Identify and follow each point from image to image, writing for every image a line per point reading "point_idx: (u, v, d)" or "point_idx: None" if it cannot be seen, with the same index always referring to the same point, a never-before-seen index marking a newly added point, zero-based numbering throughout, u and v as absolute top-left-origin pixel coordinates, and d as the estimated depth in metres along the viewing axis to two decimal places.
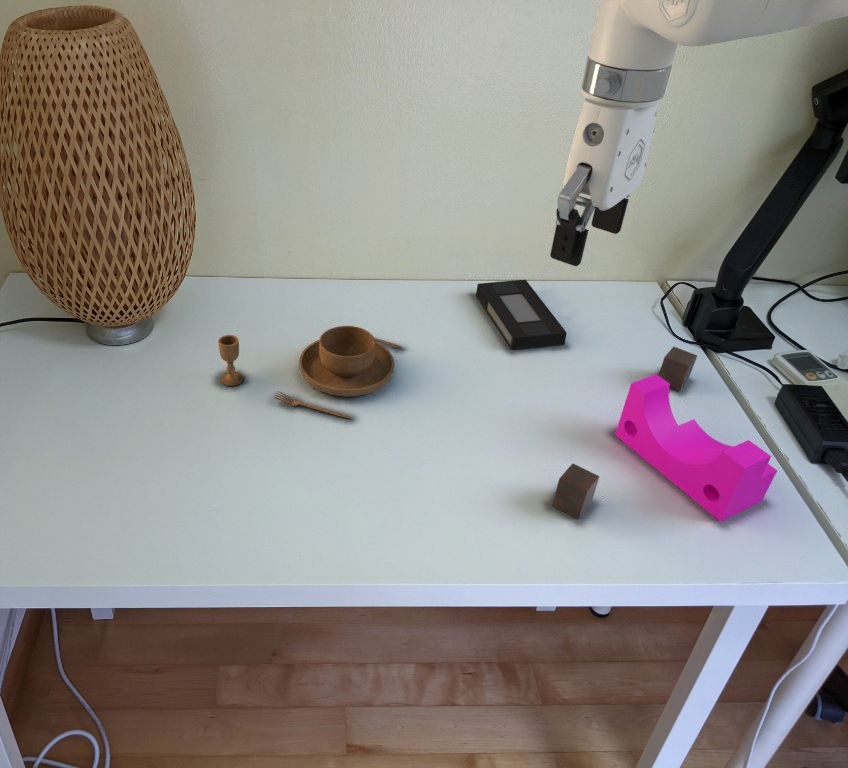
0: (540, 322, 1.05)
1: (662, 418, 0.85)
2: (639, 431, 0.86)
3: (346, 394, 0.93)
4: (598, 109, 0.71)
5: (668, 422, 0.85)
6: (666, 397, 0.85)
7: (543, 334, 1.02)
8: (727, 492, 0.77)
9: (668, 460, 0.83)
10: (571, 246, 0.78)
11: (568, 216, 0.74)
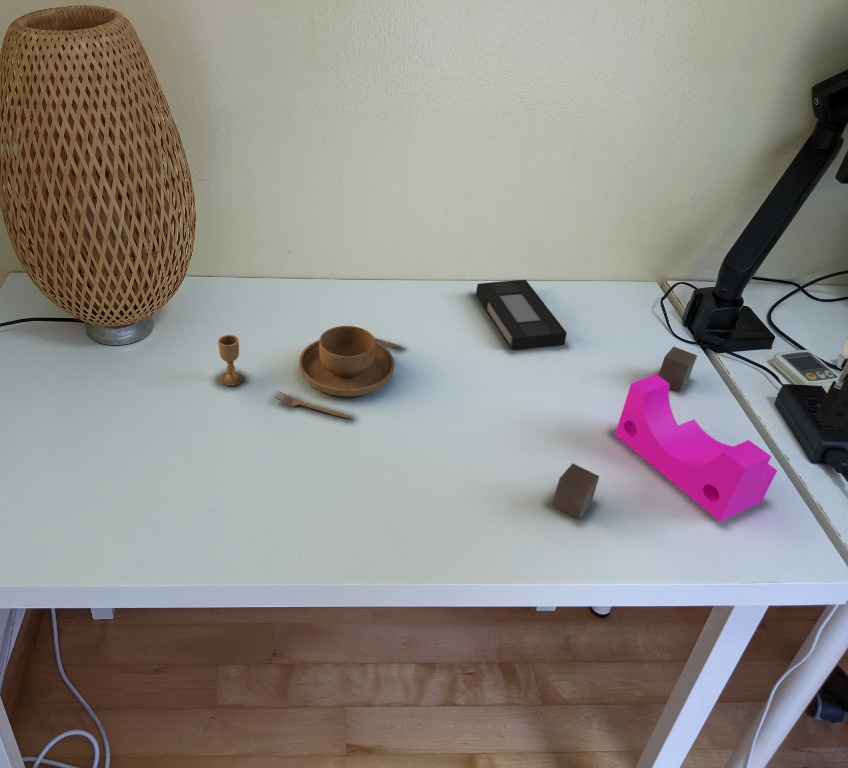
0: (540, 322, 1.05)
1: (662, 418, 0.85)
2: (639, 431, 0.86)
3: (346, 394, 0.93)
4: None
5: (668, 422, 0.85)
6: (666, 397, 0.85)
7: (543, 334, 1.02)
8: (727, 492, 0.77)
9: (668, 460, 0.83)
10: None
11: None
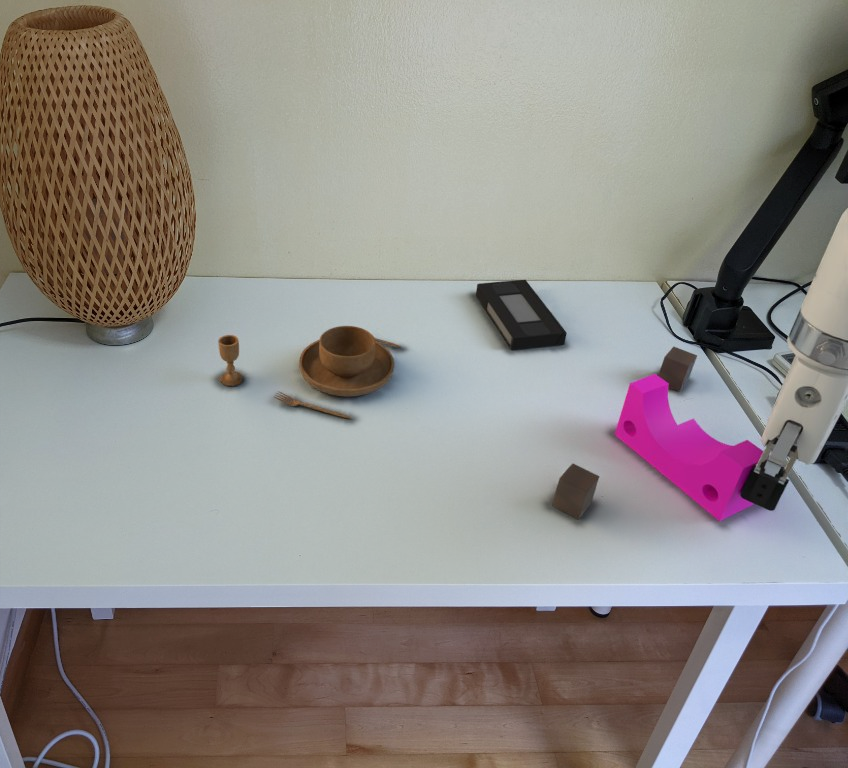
0: (540, 322, 1.05)
1: (661, 418, 0.85)
2: (638, 431, 0.86)
3: (346, 394, 0.93)
4: (816, 374, 0.68)
5: (667, 422, 0.85)
6: (665, 397, 0.85)
7: (543, 334, 1.02)
8: (726, 492, 0.77)
9: (667, 460, 0.83)
10: (769, 494, 0.74)
11: (775, 474, 0.71)
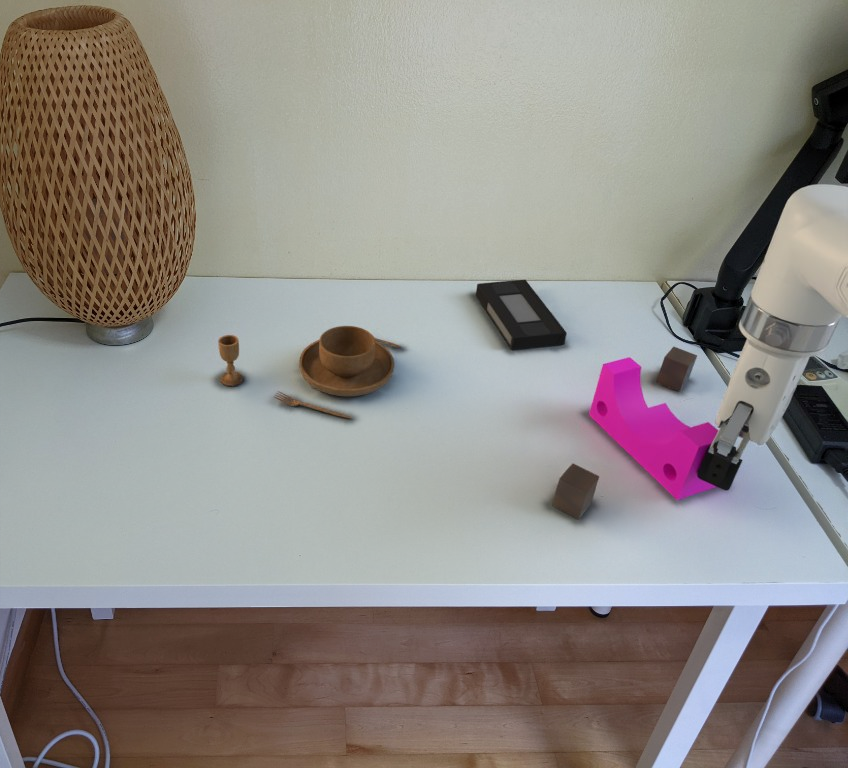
0: (540, 322, 1.05)
1: (632, 399, 0.88)
2: (609, 411, 0.88)
3: (346, 394, 0.93)
4: (765, 356, 0.70)
5: (638, 404, 0.88)
6: (638, 379, 0.88)
7: (543, 334, 1.02)
8: (683, 471, 0.79)
9: (634, 440, 0.85)
10: (723, 474, 0.76)
11: (727, 454, 0.73)
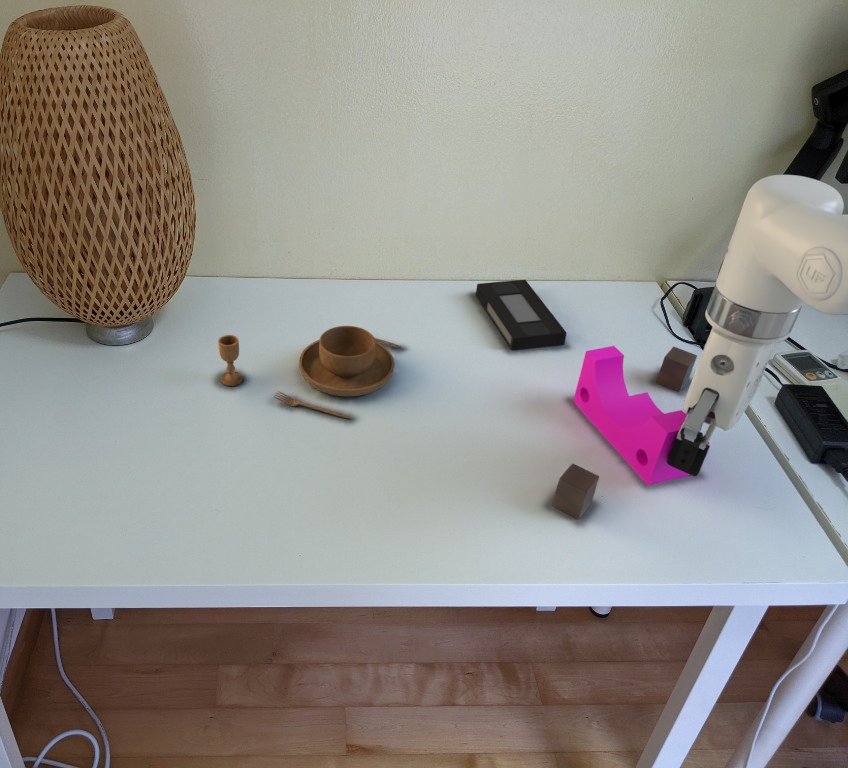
0: (540, 322, 1.05)
1: (613, 387, 0.89)
2: (591, 398, 0.90)
3: (346, 394, 0.93)
4: (729, 343, 0.71)
5: (619, 392, 0.89)
6: (620, 368, 0.89)
7: (543, 334, 1.02)
8: (653, 456, 0.81)
9: (611, 426, 0.87)
10: (692, 460, 0.78)
11: (694, 439, 0.75)
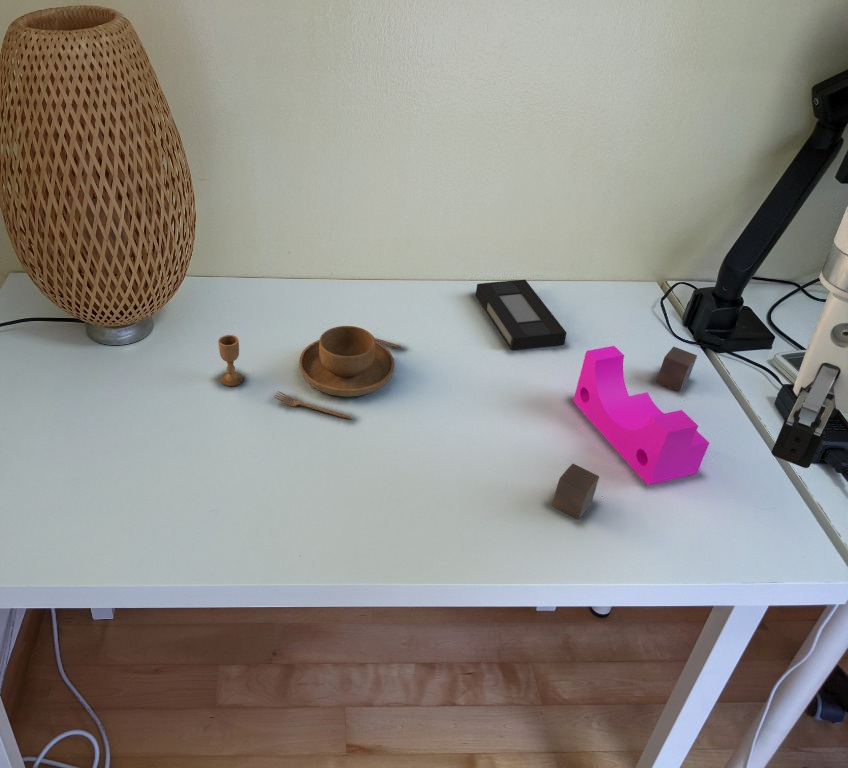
0: (540, 322, 1.05)
1: (613, 387, 0.89)
2: (591, 397, 0.90)
3: (346, 394, 0.93)
4: None
5: (619, 392, 0.89)
6: (620, 368, 0.90)
7: (543, 334, 1.02)
8: (653, 456, 0.81)
9: (611, 426, 0.87)
10: (804, 449, 0.68)
11: (811, 423, 0.65)
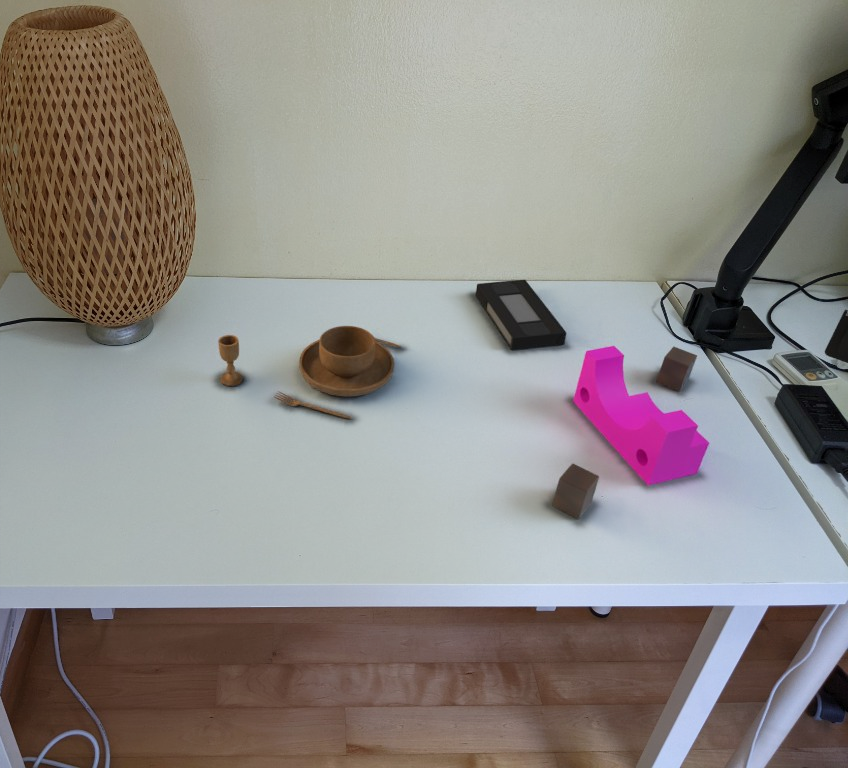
0: (540, 322, 1.05)
1: (613, 387, 0.89)
2: (591, 397, 0.90)
3: (346, 394, 0.93)
4: None
5: (619, 392, 0.89)
6: (620, 368, 0.90)
7: (543, 334, 1.02)
8: (653, 456, 0.81)
9: (611, 426, 0.87)
10: None
11: None
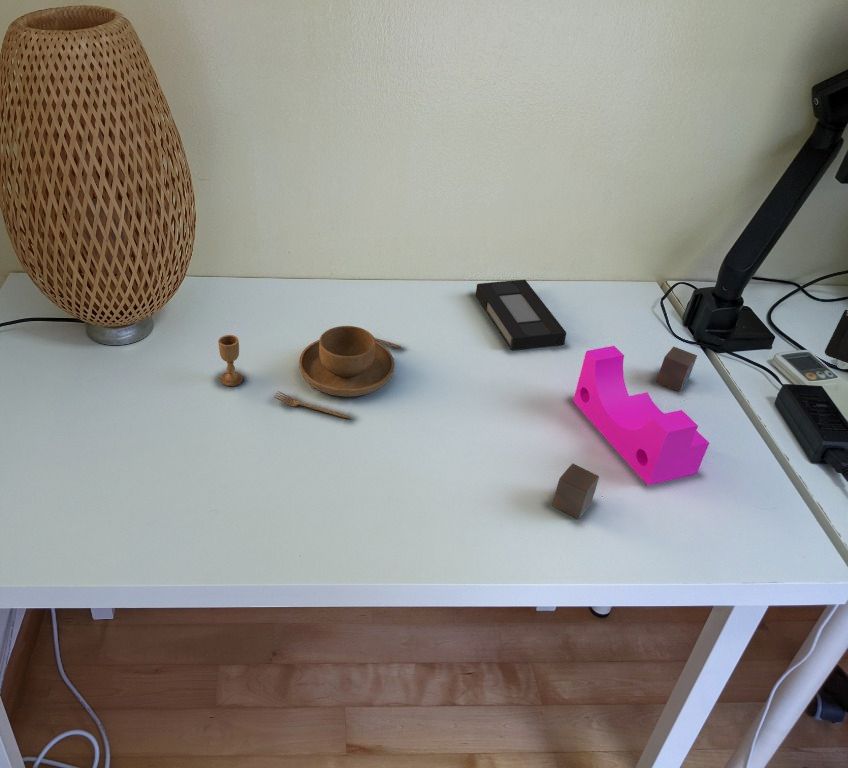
0: (540, 322, 1.05)
1: (613, 387, 0.89)
2: (591, 397, 0.90)
3: (346, 394, 0.93)
4: None
5: (619, 392, 0.89)
6: (620, 368, 0.90)
7: (543, 334, 1.02)
8: (653, 456, 0.81)
9: (611, 426, 0.87)
10: None
11: None
